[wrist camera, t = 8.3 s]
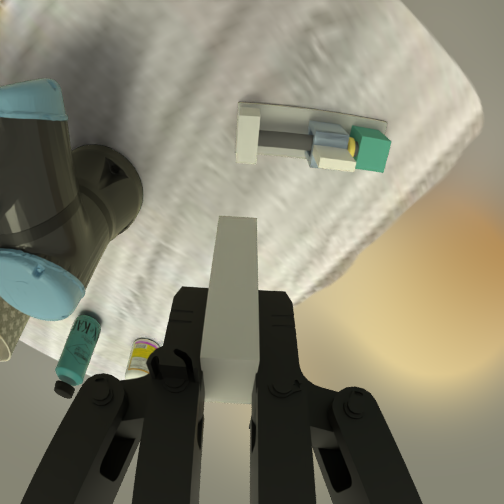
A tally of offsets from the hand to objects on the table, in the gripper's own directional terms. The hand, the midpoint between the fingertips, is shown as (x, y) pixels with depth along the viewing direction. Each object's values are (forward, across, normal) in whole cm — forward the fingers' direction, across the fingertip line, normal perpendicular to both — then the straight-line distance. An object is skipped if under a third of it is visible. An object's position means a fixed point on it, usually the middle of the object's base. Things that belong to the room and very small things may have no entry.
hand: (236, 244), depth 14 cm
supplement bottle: (+31, -20, -54) cm, 65 cm away
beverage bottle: (+31, -32, -46) cm, 64 cm away
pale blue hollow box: (+29, +10, -4) cm, 31 cm away
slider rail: (+30, +9, -4) cm, 32 cm away
